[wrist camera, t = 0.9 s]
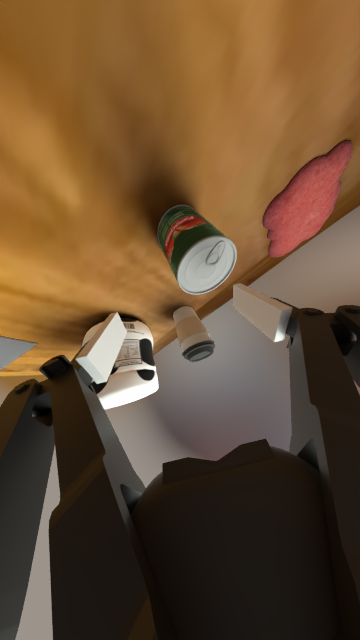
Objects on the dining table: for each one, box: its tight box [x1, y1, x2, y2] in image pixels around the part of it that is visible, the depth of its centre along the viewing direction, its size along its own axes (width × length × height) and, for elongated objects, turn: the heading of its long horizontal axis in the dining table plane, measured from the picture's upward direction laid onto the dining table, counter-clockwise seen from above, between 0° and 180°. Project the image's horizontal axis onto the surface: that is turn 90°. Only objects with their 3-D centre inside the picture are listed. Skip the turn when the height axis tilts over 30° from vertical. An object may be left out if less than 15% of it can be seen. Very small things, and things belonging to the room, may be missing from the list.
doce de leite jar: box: [82, 318, 158, 410], centre depth 33 cm, size 17×17×18 cm
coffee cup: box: [173, 306, 215, 362], centre depth 37 cm, size 9×9×15 cm
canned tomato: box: [157, 205, 237, 295], centre depth 19 cm, size 8×8×11 cm
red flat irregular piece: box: [263, 141, 353, 257], centre depth 26 cm, size 18×14×2 cm
